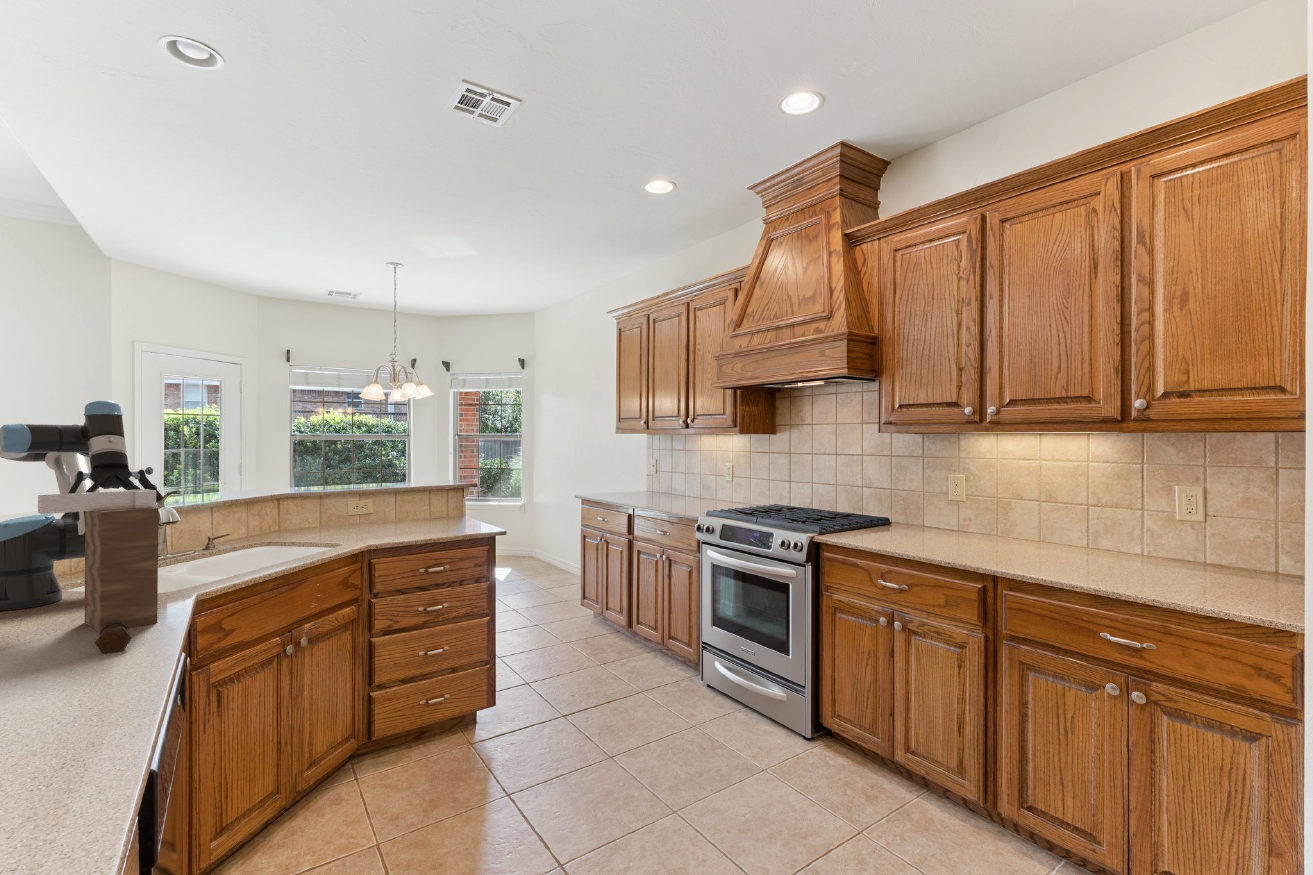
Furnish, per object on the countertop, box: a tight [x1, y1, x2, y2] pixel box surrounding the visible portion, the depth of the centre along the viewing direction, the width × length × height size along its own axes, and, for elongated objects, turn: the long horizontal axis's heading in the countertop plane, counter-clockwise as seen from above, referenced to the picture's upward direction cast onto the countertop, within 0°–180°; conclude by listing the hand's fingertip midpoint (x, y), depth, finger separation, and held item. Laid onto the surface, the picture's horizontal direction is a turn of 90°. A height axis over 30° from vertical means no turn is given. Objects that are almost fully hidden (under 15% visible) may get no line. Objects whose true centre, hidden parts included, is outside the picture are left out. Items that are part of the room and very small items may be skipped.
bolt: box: [94, 620, 133, 655], centre depth 134 cm, size 6×5×15 cm
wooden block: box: [83, 506, 159, 633], centre depth 149 cm, size 14×10×28 cm
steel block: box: [37, 488, 157, 515], centre depth 145 cm, size 7×20×4 cm, turn 144°
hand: (117, 530), depth 158 cm, fingers open, 13 cm apart
